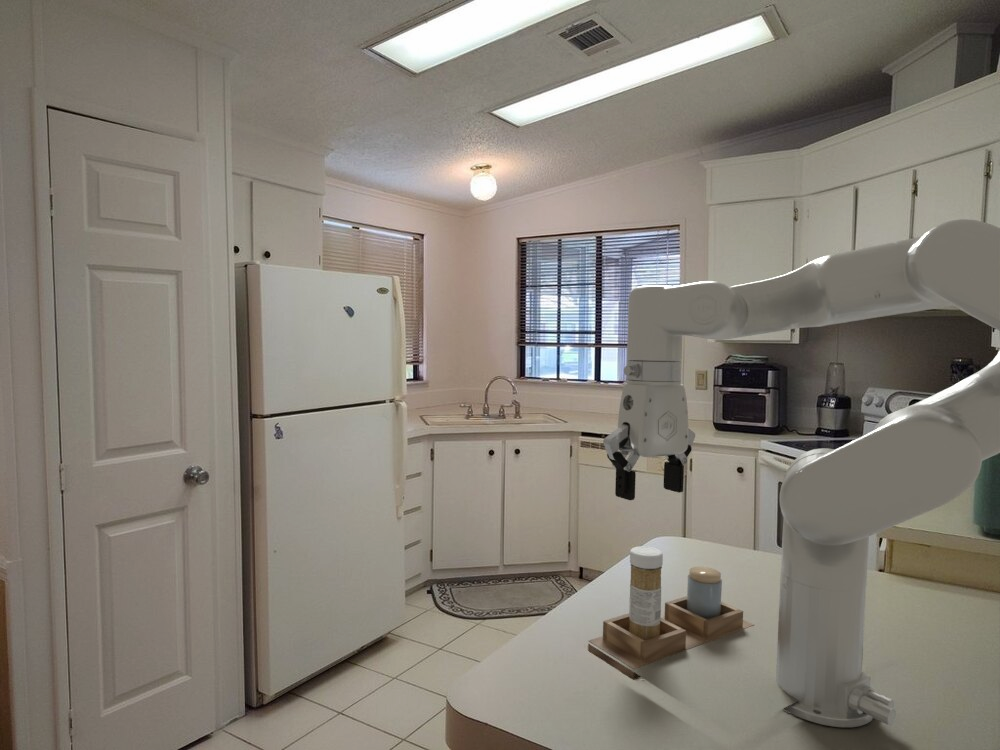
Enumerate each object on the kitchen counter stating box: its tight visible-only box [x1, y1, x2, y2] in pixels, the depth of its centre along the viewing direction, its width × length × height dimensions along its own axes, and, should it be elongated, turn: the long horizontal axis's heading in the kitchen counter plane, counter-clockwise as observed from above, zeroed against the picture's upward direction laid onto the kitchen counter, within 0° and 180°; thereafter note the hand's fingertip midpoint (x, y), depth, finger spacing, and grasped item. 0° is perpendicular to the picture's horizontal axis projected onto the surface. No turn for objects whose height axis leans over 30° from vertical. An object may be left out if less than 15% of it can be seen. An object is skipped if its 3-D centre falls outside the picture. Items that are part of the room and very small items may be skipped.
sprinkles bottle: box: [628, 545, 664, 641], centre depth 87 cm, size 5×5×13 cm
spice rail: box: [587, 595, 755, 681], centre depth 91 cm, size 9×26×4 cm, turn 123°
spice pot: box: [686, 566, 723, 620], centre depth 95 cm, size 5×5×8 cm
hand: (649, 494), depth 87 cm, fingers open, 9 cm apart
